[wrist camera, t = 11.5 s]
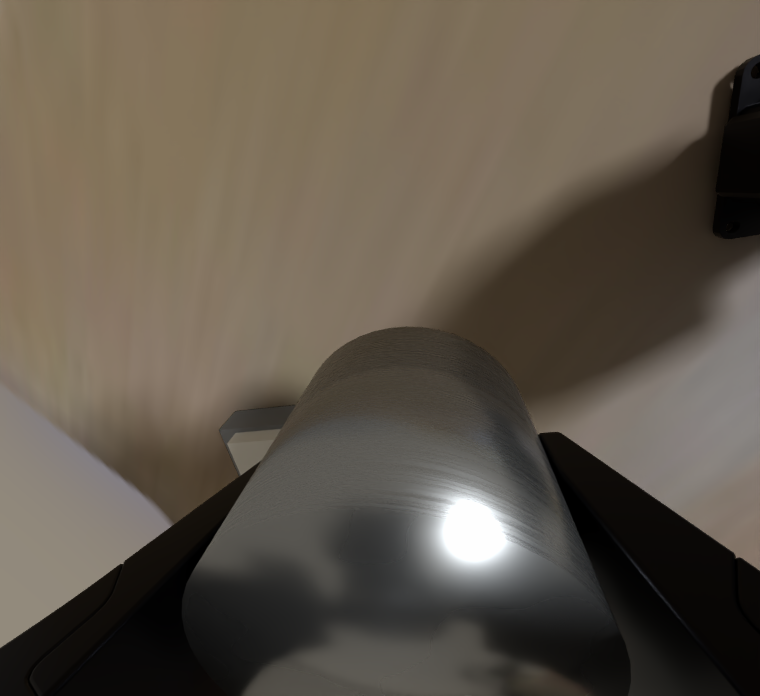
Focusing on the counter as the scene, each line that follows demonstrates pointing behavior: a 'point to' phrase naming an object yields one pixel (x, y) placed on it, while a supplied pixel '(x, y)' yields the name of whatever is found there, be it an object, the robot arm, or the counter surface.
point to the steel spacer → (404, 543)
